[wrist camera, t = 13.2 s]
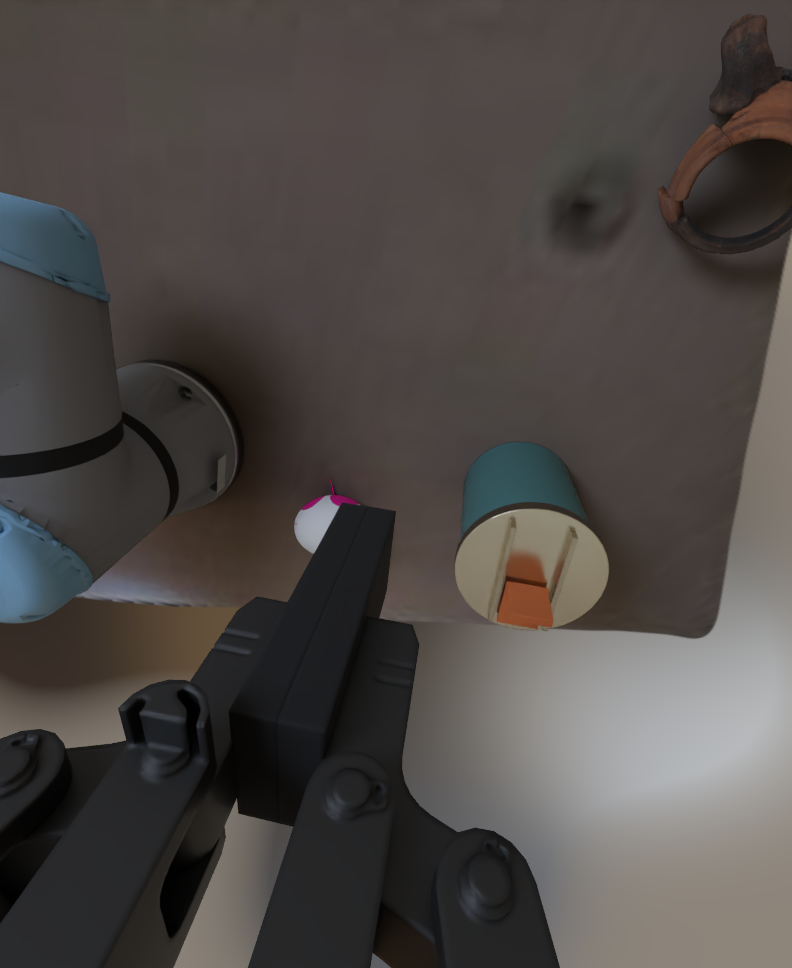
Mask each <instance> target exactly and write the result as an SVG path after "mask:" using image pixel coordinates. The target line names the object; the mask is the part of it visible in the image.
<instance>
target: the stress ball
mask: <svg viewBox="0 0 792 968" xmlns="http://www.w3.org/2000/svg"><path fill="white" fill-rule="evenodd" d="M330 481H331V479H330ZM331 487H332V493H333V495H327V496H322V497H319V498H316V499H314V500H312V501H310V502H309V503H307V504H306V505H305V506H304V507H303V508H302V509H301V510H300V511H299V513H298V514H297V517H296V519H295V524H294V531H295V535H296V538H297V540H298V541H299V543H300V544H301V545H302V546H303V547H304V548H305V549H306V550H308V551H309V552H311V553H313V554H314V553H315V551H316V549H317V547H318V545H319V544H320V542H321V540H322V538H323V536H324V534H325V532H326V531H327V529H328V527H329V525H330V523H331V521H332V520H333V518H334V516H335V514H336V512H337V510H338V508H339V507H340V505H341V503H342V502H343V503H349V504H355V505H360V504H359V503H358V502H356V501H355V500H353V499H351V498H348V497H345V496H340V495H335V493H334V490H333V486H332V483H331Z"/></svg>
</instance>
